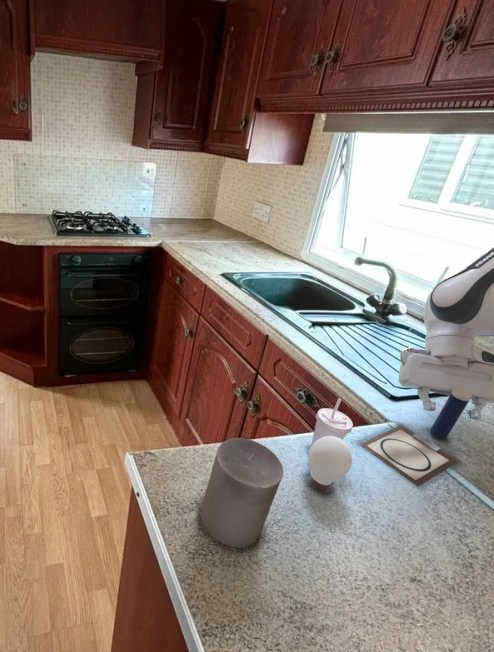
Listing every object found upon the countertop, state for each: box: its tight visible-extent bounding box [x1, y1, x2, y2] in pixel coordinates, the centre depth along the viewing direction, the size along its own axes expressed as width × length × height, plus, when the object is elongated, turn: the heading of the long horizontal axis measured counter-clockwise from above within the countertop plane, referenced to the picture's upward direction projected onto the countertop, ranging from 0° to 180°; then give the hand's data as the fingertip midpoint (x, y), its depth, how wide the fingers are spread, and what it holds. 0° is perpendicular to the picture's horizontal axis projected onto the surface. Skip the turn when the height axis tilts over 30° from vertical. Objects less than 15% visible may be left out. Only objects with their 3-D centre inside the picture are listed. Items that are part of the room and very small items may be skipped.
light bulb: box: [307, 436, 353, 494], centre depth 72 cm, size 7×7×11 cm
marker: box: [429, 388, 472, 440], centre depth 89 cm, size 3×3×12 cm
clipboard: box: [359, 424, 460, 487], centre depth 85 cm, size 12×16×1 cm
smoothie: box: [309, 398, 354, 450], centre depth 79 cm, size 6×6×14 cm
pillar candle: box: [199, 437, 284, 549], centre depth 62 cm, size 10×10×15 cm
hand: (451, 414), depth 88 cm, fingers open, 8 cm apart
